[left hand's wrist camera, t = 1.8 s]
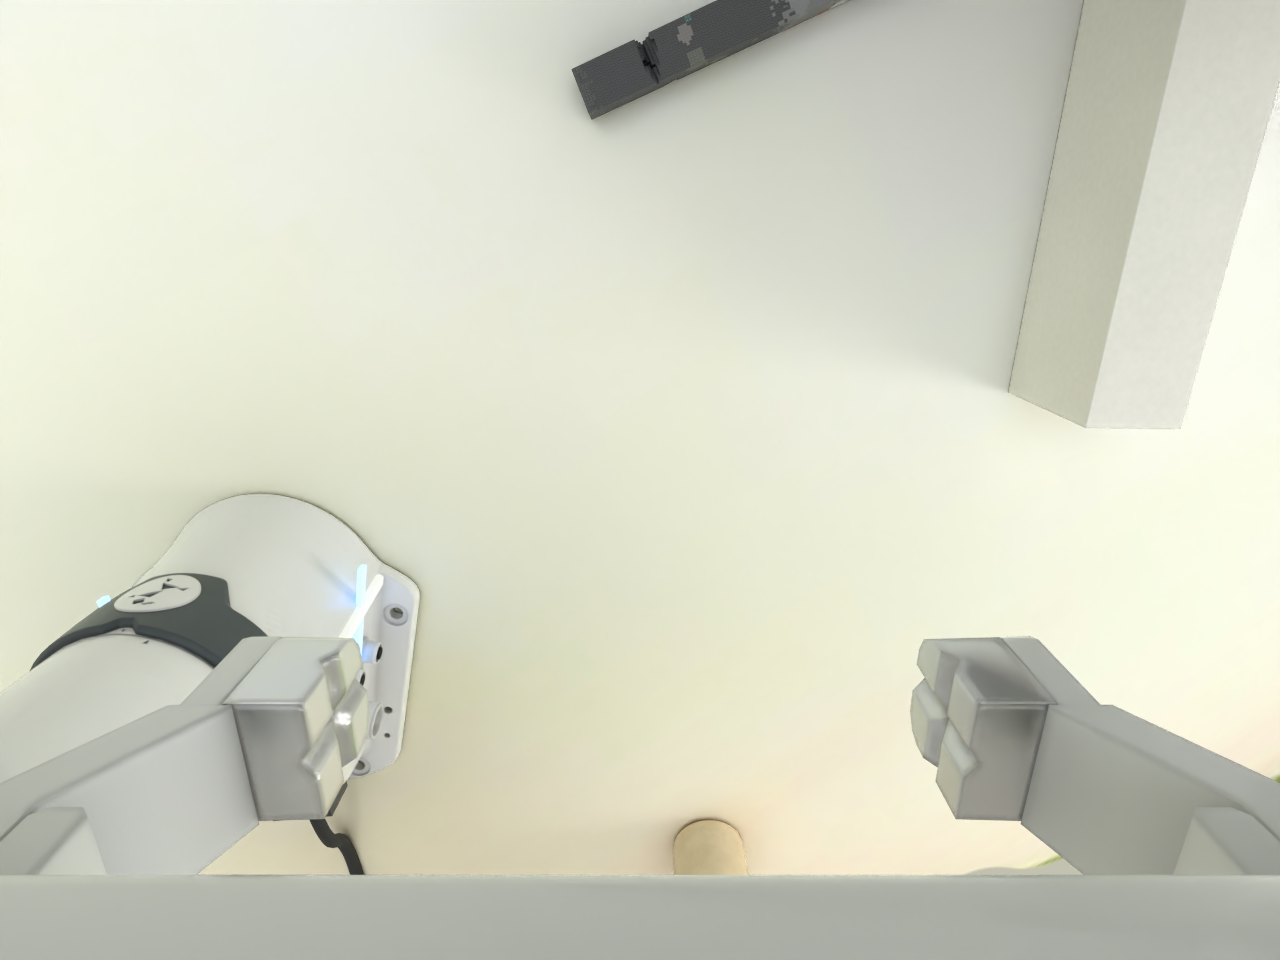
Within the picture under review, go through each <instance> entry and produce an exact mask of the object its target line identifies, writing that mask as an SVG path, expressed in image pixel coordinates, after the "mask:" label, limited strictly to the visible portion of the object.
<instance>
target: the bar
mask: <svg viewBox="0 0 1280 960" xmlns="http://www.w3.org/2000/svg"><path fill="white" fill-rule="evenodd" d="M1279 82H1280V0H1084V4H1083V9H1082V14H1081V19H1080V24H1079V29H1078V35H1077V40H1076V45H1075V50H1074V55H1073V60H1072V66H1071V71H1070V76H1069V81H1068V86H1067V91H1066V96H1065V102H1064V107H1063V112H1062V117H1061V122H1060V127H1059V133H1058V138H1057V143H1056V148H1055V153H1054V158H1053V164H1052V169H1051V174H1050V179H1049V184H1048V189H1047V194H1046V200H1045V205H1044V210H1043V215H1042V220H1041V225H1040V231H1039V236H1038V241H1037V246H1036V251H1035V256H1034V262H1033V267H1032V272H1031V277H1030V282H1029V287H1028V292H1027V298H1026V303H1025V308H1024V313H1023V318H1022V323H1021V329H1020V334H1019V339H1018V344H1017V349H1016V354H1015V360H1014V365H1013V370H1012V375H1011V380H1010V385H1009V390H1008V392H1009V393H1011V394H1013V395H1015V396H1017V397H1020V398H1022V399H1024V400H1026V401H1028V402H1030V403H1033V404H1035V405H1037V406H1039V407H1041V408H1043V409H1046V410H1048V411H1050V412H1052V413H1054V414H1057V415H1059V416H1061V417H1063V418H1065V419H1067V420H1070V421H1072V422H1074V423H1076V424H1078V425H1080V426H1083V427H1085V428H1120V429H1182V425H1183V422H1184V418H1185V415H1186V411H1187V408H1188V404H1189V400H1190V397H1191V393H1192V390H1193V386H1194V383H1195V379H1196V376H1197V372H1198V369H1199V365H1200V362H1201V358H1202V354H1203V351H1204V347H1205V344H1206V340H1207V337H1208V333H1209V330H1210V326H1211V323H1212V319H1213V315H1214V312H1215V308H1216V305H1217V301H1218V298H1219V294H1220V291H1221V287H1222V284H1223V280H1224V277H1225V273H1226V269H1227V266H1228V262H1229V259H1230V255H1231V252H1232V248H1233V245H1234V241H1235V238H1236V234H1237V231H1238V227H1239V223H1240V220H1241V216H1242V213H1243V209H1244V206H1245V202H1246V199H1247V195H1248V192H1249V188H1250V184H1251V181H1252V177H1253V174H1254V170H1255V167H1256V163H1257V160H1258V156H1259V153H1260V149H1261V146H1262V142H1263V138H1264V135H1265V131H1266V128H1267V124H1268V121H1269V117H1270V114H1271V110H1272V107H1273V103H1274V99H1275V96H1276V92H1277V89H1278V85H1279Z"/></svg>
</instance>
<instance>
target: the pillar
mask: <svg viewBox="0 0 1280 960" xmlns="http://www.w3.org/2000/svg"><path fill="white" fill-rule="evenodd" d="M846 1H849V0H717V1H714V2H712V3H710V4H708V5H706V6H704V7H702V8H700V9H698V10H695V11H693V12H691V13H689V14H687V15H685V16H683V17H681V18H679V19H677V20H674V21H672V22H670V23H668V24H666V25H664V26H662V27H660V28H658V29H655V30H653V31H651V32H649V36H648V37H646V40H645V41H643V44H642V45H641V43H640V42H639V43H638V41H635V40H632V41H630V42H628V43H626V44H624V45H622V46H620V47H618V48H615V49H613V50H611V51H609V52H607V53H605V54H603V55H601V56H599V57H596V58H594V59H592V60H590V61H588V62H586V63H584V64H582V65H580V66H578V67H575V68H573V69H572V72H573V74H574V77H575V79H576V82H577V84H578V87H579V89H580V92H581V94H582V97H583V100H584V102H585V105H586V107H587V110H588V112H589V115H590V117H591V119H594V118H596V117H598V116H600V115H602V114H605V113H607V112H609V111H611V110H613V109H615V108H618V107H620V106H622V105H624V104H626V103H628V102H631V101H633V100H635V99H637V98H639V97H641V96H643V95H646V94H648V93H650V92H652V91H654V90H656V89H659V88H661V87H663V86H664V85H666V84H668V83H669V82H672V81H673V80H675V79H677V80H678V79H680V78H682V77H684V76H687V75H689V74H691V73H693V72H695V71H697V70H700V69H702V68H704V67H706V66H708V65H710V64H713V63H715V62H717V61H719V60H721V59H723V58H725V57H728V56H730V55H732V54H734V53H736V52H738V51H741V50H743V49H745V48H747V47H749V46H751V45H754V44H756V43H758V42H760V41H762V40H764V39H767V38H769V37H771V36H773V35H775V34H777V33H779V32H782V31H784V30H786V29H788V28H790V27H792V26H795V25H797V24H799V23H801V22H803V21H805V20H808V19H810V18H812V17H814V16H816V15H818V14H820V13H823V12H825V11H827V10H829V9H831V8H833V7H836V6H838V5H840V4H842V3H844V2H846Z"/></svg>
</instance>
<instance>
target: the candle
mask: <svg viewBox="0 0 1280 960" xmlns="http://www.w3.org/2000/svg"><path fill="white" fill-rule="evenodd" d="M673 861H674V875H748V869H747V863H746V857H745V852H744V847H743V842H742V840H741V837H740V835H739V834H738V832H737V831H736V830H735V829H734V828H733V827H731V826H730V825H728V824H726V823H723V822H720V821H714V820H704V821H698V822H695V823H692V824H690V825H688V826H687V827H685V828H684V829H683V830H682V831H680V833H679V834H678V835H677V837H676V839H675V841H674V847H673Z"/></svg>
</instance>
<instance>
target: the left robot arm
mask: <svg viewBox="0 0 1280 960" xmlns="http://www.w3.org/2000/svg"><path fill="white" fill-rule="evenodd" d="M419 602H420V592H419V589H418V587H417V585H416V584H415V583H414V582H413V581H412V580H411V579H409V578H408V577H407V576H405V575H404V574H402V573H400V572H399V571H397V570H395V569H393V568H392V567H390V566H388V565H386V564H384V563H382V562H381V561H380V560H379V559H378V558H377V557H376V556H375V555H374V554H373V553H372V552H371V551H370V550H369V548H368V547H367V546H366V545H365V544H364V543H363V541H362V540H361V539H360V538H359V537H358V536H357V535H356V534H355V533H354V532H353V531H352V530H351V529H350V528H349V527H347V526H346V525H345V524H344V523H343V522H341V521H340V520H338V519H337V518H336V517H334V516H333V515H331V514H329V513H328V512H326V511H324V510H322V509H320V508H318V507H316V506H314V505H312V504H309V503H307V502H304V501H301V500H298V499H295V498H291V497H287V496H281V495H274V494H244V495H238V496H234V497H230V498H226V499H223V500H221V501H218V502H216V503H214V504H212V505H210V506H208V507H206V508H205V509H203V510H202V511H200V512H199V513H198V514H196V515H195V516H194V517H193V518H192V519H191V520H190V521H189V522H188V523H187V524H186V525H185V527H184V528H183V529H182V531H181V532H180V534H179V535H178V537H177V538H176V540H175V541H174V543H173V544H172V545H171V547H170V548H169V549H168V550H167V552H166V553H165V554H164V555H163V556H162V557H161V558H160V560H159V561H158V562H157V563H156V564H155V565H154V566H153V568H151V569H150V570H149V571H147V572H146V573H145V574H144V575H143V576H142V577H141V578H140V579H139V580H137V581H136V583H135V584H134V585H133V586H132V588H131V589H129V590H127V591H125V592H124V593H122V594H120V595H119V596H117V597H115V598H114V599H112V600H110V598H109V596H104V597H102V598H101V599H99V600H98V601H97V604H98V606H99V608H98V609H97V610H95V611H94V612H93V613H91V614H90V615H89V616H87V617H86V618H85V619H83V620H82V621H80V622H79V623H78V624H76V625H75V626H74V627H73V628H71V629H70V630H69V631H67V632H66V633H65V634H64V635H62V636H61V637H60V638H59V639H57V640H56V641H55V642H53V643H52V644H51V645H50V646H49V647H48V648H47V649H45V650H44V651H43V652H42V653H41V654H40V656H39V657H38V658H37V660H36V661H35V662H34V664H33V666H32V668H31V669H30V671H29V672H28V673H27V674H25V675H24V676H23V677H21V678H20V679H19V680H17V681H16V682H15V683H13V684H12V685H11V686H9V687H8V688H7V689H5V690H4V691H2V692H1V693H0V960H1280V783H1278V782H1276V781H1274V780H1272V779H1270V778H1268V777H1265V776H1263V775H1261V774H1259V773H1257V772H1255V771H1253V770H1250V769H1248V768H1246V767H1244V766H1242V765H1240V764H1238V763H1235V762H1233V761H1231V760H1229V759H1227V758H1225V757H1223V756H1220V755H1218V754H1216V753H1214V752H1212V751H1210V750H1208V749H1205V748H1203V747H1201V746H1199V745H1197V744H1195V743H1193V742H1190V741H1188V740H1186V739H1184V738H1182V737H1180V736H1178V735H1175V734H1173V733H1171V732H1169V731H1167V730H1165V729H1163V728H1160V727H1158V726H1156V725H1154V724H1152V723H1150V722H1148V721H1145V720H1143V719H1141V718H1139V717H1137V716H1135V715H1133V714H1130V713H1128V712H1126V711H1124V710H1122V709H1120V708H1118V707H1115V706H1113V705H1100V704H1099V703H1098V702H1097V701H1096V700H1095V699H1094V698H1093V696H1092V695H1091V694H1090V693H1089V692H1088V691H1087V690H1086V689H1085V688H1084V687H1083V686H1082V685H1081V684H1080V683H1079V682H1078V681H1077V680H1076V679H1075V678H1074V677H1073V676H1072V674H1071V673H1070V672H1069V671H1068V670H1067V669H1066V668H1065V667H1064V666H1063V665H1062V664H1061V663H1060V662H1059V661H1058V660H1057V659H1056V658H1055V657H1054V656H1053V655H1052V654H1051V652H1050V651H1049V650H1048V649H1047V648H1046V647H1045V646H1044V645H1043V644H1042V643H1041V642H1040V641H1039V640H1038V639H1035V638H1033V637H1030V636H1015V637H994V638H956V639H924V640H923V643H922V645H921V647H920V649H919V655H918V660H917V665H918V667H919V669H920V670H921V672H922V674H923V675H924V677H925V678H924V679H923V681H922V682H921V683H920V684H919V685H918V686H917V687H916V688H915V689H914V690H913V693H912V701H911V709H910V712H911V723H912V731H913V734H914V738H915V741H916V744H917V746H918V748H919V750H920V752H921V754H922V756H923V758H925V759H926V760H927V761H929V762H930V763H932V764H933V765H935V766H936V767H938V770H937V776H936V783H937V785H938V787H939V789H940V790H941V792H942V794H943V796H944V798H945V800H946V802H947V804H948V805H949V807H950V809H951V811H952V813H953V815H954V817H955V819H971V820H1007V821H1021V824H1022V825H1023V826H1024V827H1025V828H1027V829H1028V830H1029V831H1030V832H1031V833H1033V834H1034V835H1035V836H1036V837H1038V838H1039V839H1040V840H1041V841H1043V842H1044V843H1045V844H1046V845H1048V846H1049V847H1050V848H1051V849H1053V850H1054V851H1055V852H1056V853H1058V854H1059V855H1060V856H1061V857H1062V858H1064V859H1065V860H1066V861H1067V862H1069V863H1070V864H1071V865H1072V866H1074V867H1075V868H1076V869H1077V870H1079V871H1080V872H1081V873H1082V874H1084V875H364V874H363V870H362V867H361V864H360V861H359V858H358V855H357V853H356V851H355V849H354V847H353V845H352V843H351V842H350V840H349V839H348V837H347V836H346V835H344V834H339V833H338V834H334V833H333V832H332V831H331V829H330V828H329V826H328V824H327V822H326V820H325V817H326V816H332V815H333V813H334V811H335V809H336V807H337V805H338V803H339V801H340V799H341V797H342V795H343V794H344V792H345V790H346V788H347V782H346V781H347V780H348V779H353V778H358V777H362V776H366V775H369V774H372V773H375V772H377V771H380V770H382V769H384V768H386V767H388V766H389V765H391V764H392V763H394V762H395V760H396V758H397V757H398V755H399V754H400V751H401V747H402V739H403V732H404V723H405V715H406V707H407V699H408V691H409V683H410V675H411V667H412V658H413V650H414V642H415V634H416V626H417V618H418V610H419ZM393 608H399V609H401V610H402V612H403V613H401V614H400V613H397V612H395V611H394V609H393ZM359 761H362V762H363V763H361V762H359ZM307 819H309V820H310V822H311V824H312V826H313V828H314V830H315V832H316V834H317V835H318V837H319V839H320V840H321V841H322V843H323V844H324V845H325V846H327V847H330V848H335V847H338V848H339V849H340V851H341V852H342V854H343V856H344V858H345V861H346V863H347V866H348V869H349V872H350V875H197V874H198V873H199V872H200V871H202V870H203V869H204V868H205V867H207V866H208V865H209V864H210V863H212V862H213V861H214V860H215V859H217V858H218V857H219V856H220V855H222V854H223V853H224V852H225V851H226V850H228V849H229V848H230V847H231V846H233V845H234V844H235V843H236V842H238V841H239V840H240V839H241V838H243V837H244V836H245V835H246V834H248V833H249V832H250V831H251V830H253V829H254V828H255V827H256V826H258V825H259V821H280V820H307Z"/></svg>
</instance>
